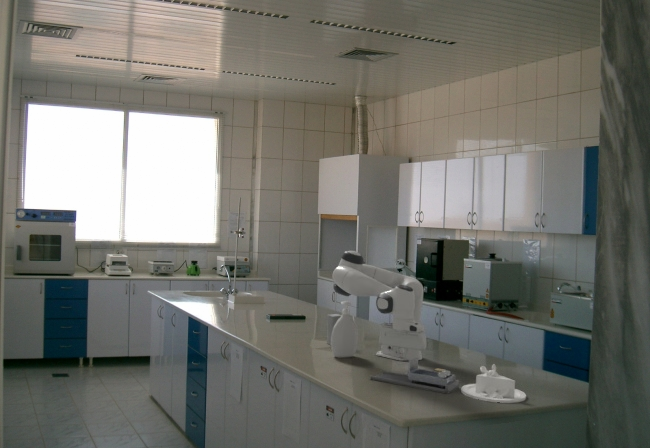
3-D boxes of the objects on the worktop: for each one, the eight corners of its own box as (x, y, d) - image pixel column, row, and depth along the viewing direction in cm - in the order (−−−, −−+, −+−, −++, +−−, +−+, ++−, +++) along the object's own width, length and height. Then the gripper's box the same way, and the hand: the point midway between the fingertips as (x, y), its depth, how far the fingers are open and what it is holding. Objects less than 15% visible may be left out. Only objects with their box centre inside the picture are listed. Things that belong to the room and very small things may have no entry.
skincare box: (343, 346, 344) (345, 315, 344) (331, 346, 341) (332, 315, 341) (337, 343, 352) (339, 313, 352) (325, 343, 349) (326, 313, 349)
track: (370, 379, 274) (370, 372, 274) (383, 374, 285) (383, 367, 285) (448, 393, 257) (448, 386, 257) (458, 387, 267) (459, 380, 267)
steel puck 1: (436, 380, 262) (436, 373, 262) (439, 379, 265) (439, 371, 265) (444, 382, 260) (444, 374, 260) (447, 380, 263) (447, 373, 263)
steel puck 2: (440, 378, 266) (440, 371, 266) (443, 377, 269) (443, 369, 269) (448, 380, 264) (448, 372, 264) (451, 378, 267) (451, 371, 267)
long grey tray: (406, 383, 267) (407, 361, 267) (416, 379, 276) (417, 357, 276) (446, 390, 259) (447, 367, 258) (454, 385, 267) (455, 363, 267)
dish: (448, 392, 260) (450, 364, 260) (483, 383, 278) (484, 357, 278) (504, 407, 243) (505, 377, 243) (537, 397, 260) (538, 368, 260)
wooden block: (433, 380, 278) (433, 369, 278) (436, 378, 282) (437, 368, 282) (442, 382, 276) (442, 371, 276) (445, 380, 280) (446, 369, 280)
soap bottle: (351, 354, 325) (354, 299, 324) (360, 357, 317) (363, 301, 317) (325, 355, 318) (328, 299, 318) (333, 359, 311) (336, 301, 311)
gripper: (377, 322, 276) (375, 355, 277) (422, 328, 266) (421, 362, 266) (383, 321, 282) (382, 353, 282) (428, 326, 272) (427, 360, 272)
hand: (401, 358), depth 274 cm, fingers closed
